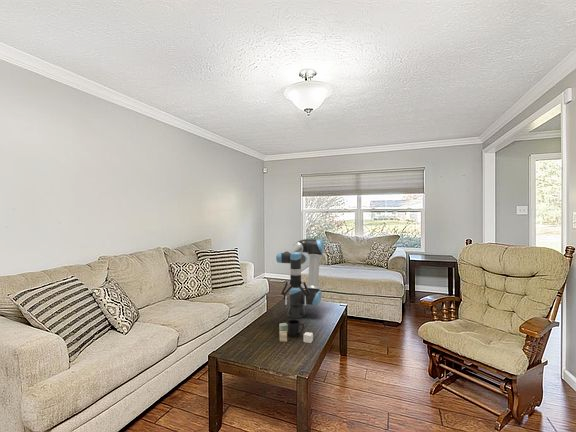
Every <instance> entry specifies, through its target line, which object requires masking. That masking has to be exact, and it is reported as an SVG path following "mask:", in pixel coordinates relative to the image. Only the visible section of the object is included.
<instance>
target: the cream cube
mask: <svg viewBox="0 0 576 432" xmlns="http://www.w3.org/2000/svg"><path fill="white" fill-rule="evenodd" d="M313 340H314V333H313V332H308V331H305V333H303V343H307V344H311V343H312V342H313Z"/></svg>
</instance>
